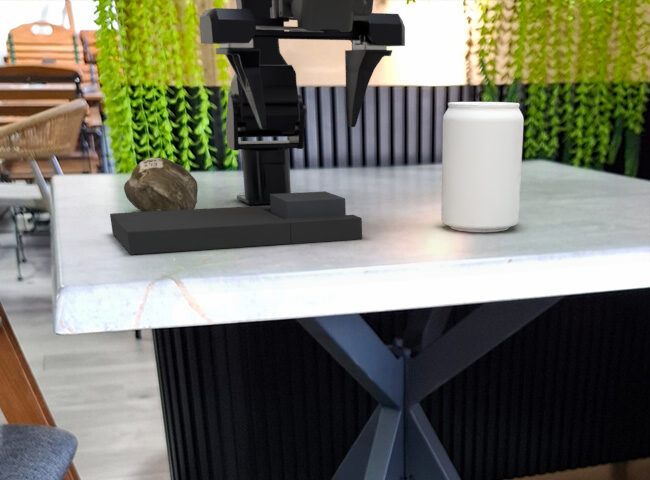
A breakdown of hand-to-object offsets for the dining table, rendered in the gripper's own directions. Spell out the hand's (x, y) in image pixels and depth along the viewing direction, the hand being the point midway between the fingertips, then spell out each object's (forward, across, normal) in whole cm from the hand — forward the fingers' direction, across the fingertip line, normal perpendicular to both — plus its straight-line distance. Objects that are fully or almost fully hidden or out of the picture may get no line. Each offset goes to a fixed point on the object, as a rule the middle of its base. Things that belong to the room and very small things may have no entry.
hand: (308, 127), depth 89 cm
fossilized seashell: (+10, -13, +16) cm, 23 cm away
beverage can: (+10, +17, -6) cm, 20 cm away
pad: (+10, -1, -2) cm, 10 cm away
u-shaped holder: (+10, -8, -2) cm, 13 cm away
